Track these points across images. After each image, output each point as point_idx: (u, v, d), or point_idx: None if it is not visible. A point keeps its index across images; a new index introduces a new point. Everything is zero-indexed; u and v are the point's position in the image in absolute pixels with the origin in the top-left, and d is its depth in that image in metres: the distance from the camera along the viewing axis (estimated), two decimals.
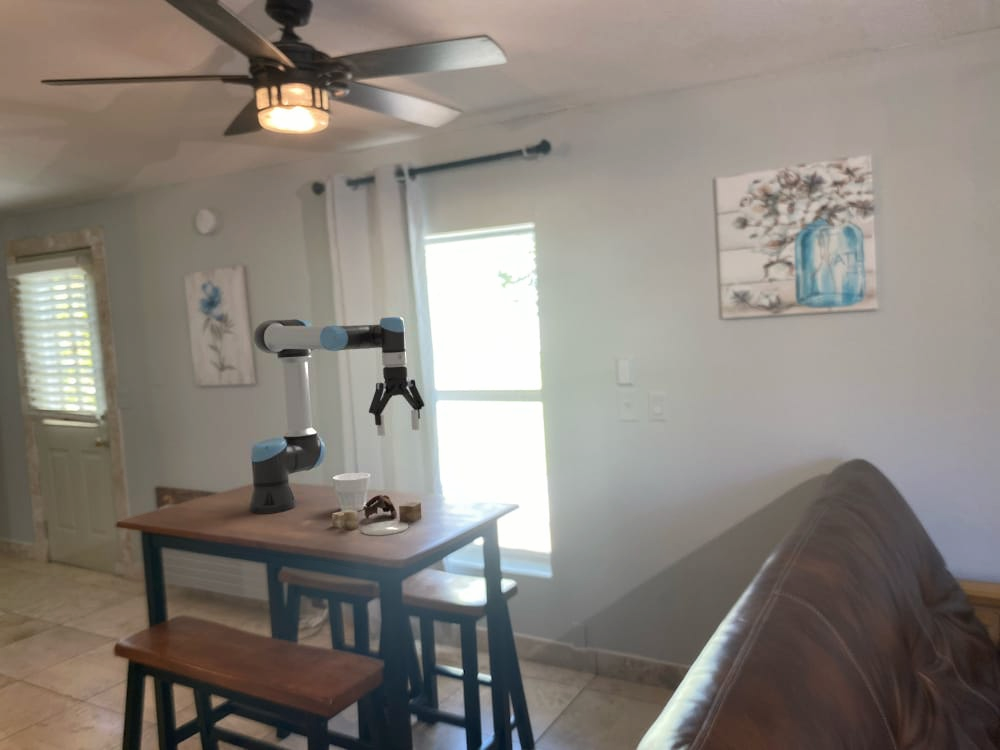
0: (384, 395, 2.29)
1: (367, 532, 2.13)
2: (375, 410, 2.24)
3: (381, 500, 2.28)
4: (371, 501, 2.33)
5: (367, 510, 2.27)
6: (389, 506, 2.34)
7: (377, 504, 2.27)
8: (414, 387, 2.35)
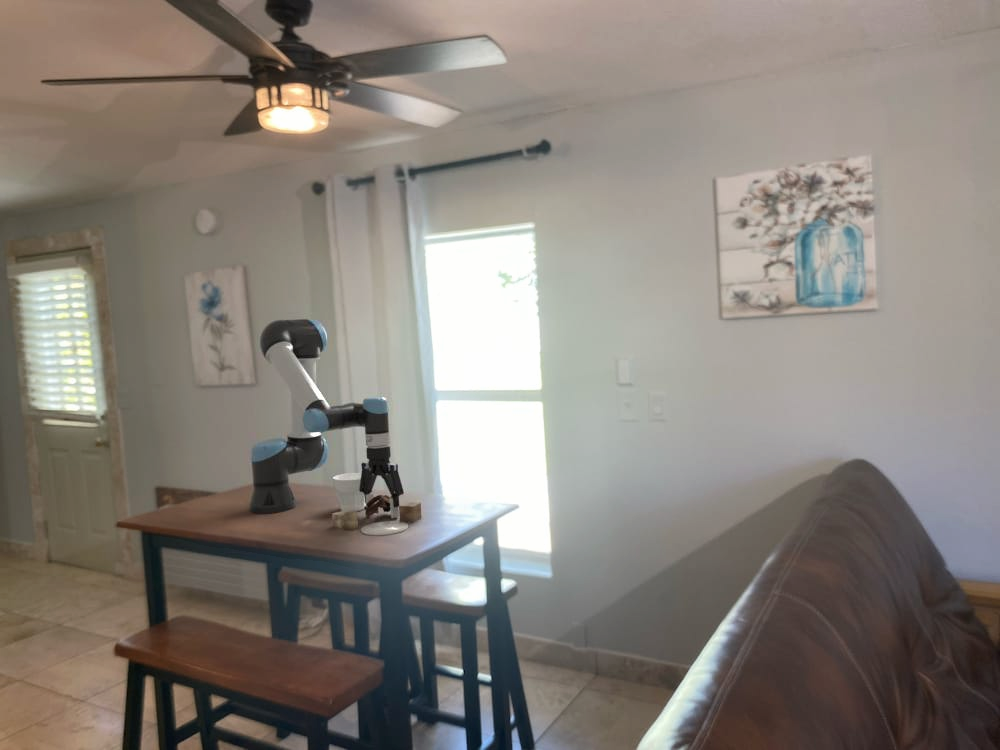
0: None
1: (367, 532, 2.13)
2: (360, 489, 2.35)
3: (382, 500, 2.28)
4: (372, 501, 2.33)
5: (368, 510, 2.27)
6: None
7: (378, 504, 2.27)
8: (391, 473, 2.27)
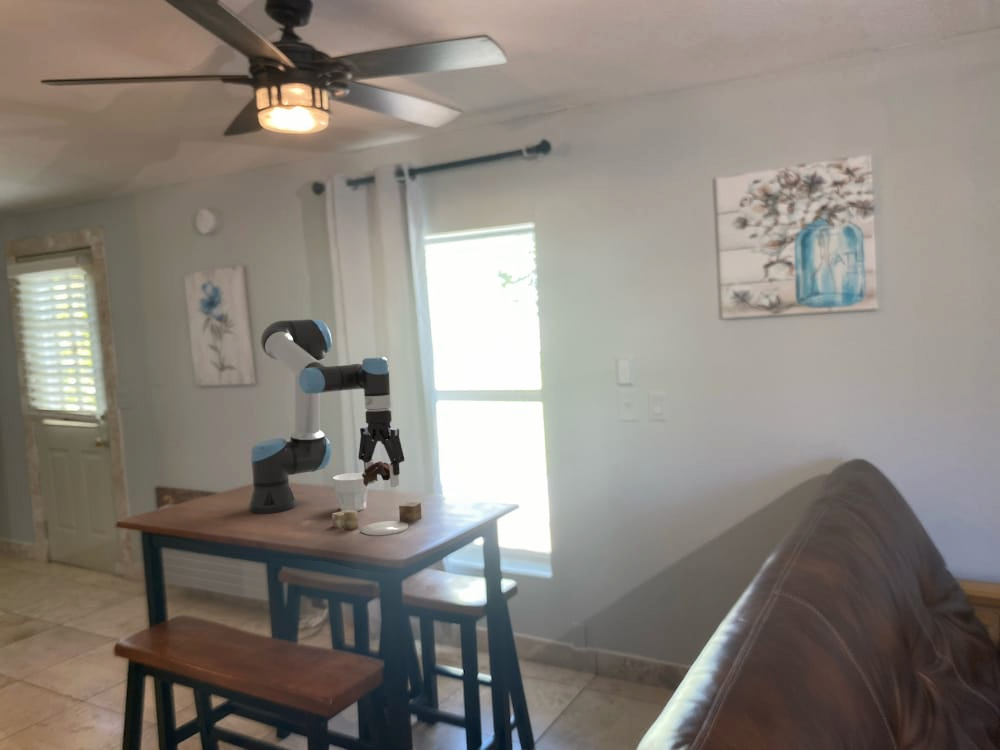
0: None
1: (367, 532, 2.13)
2: (360, 456, 2.20)
3: (381, 466, 2.13)
4: (370, 468, 2.18)
5: (366, 477, 2.12)
6: (389, 474, 2.19)
7: (377, 470, 2.12)
8: (391, 438, 2.12)
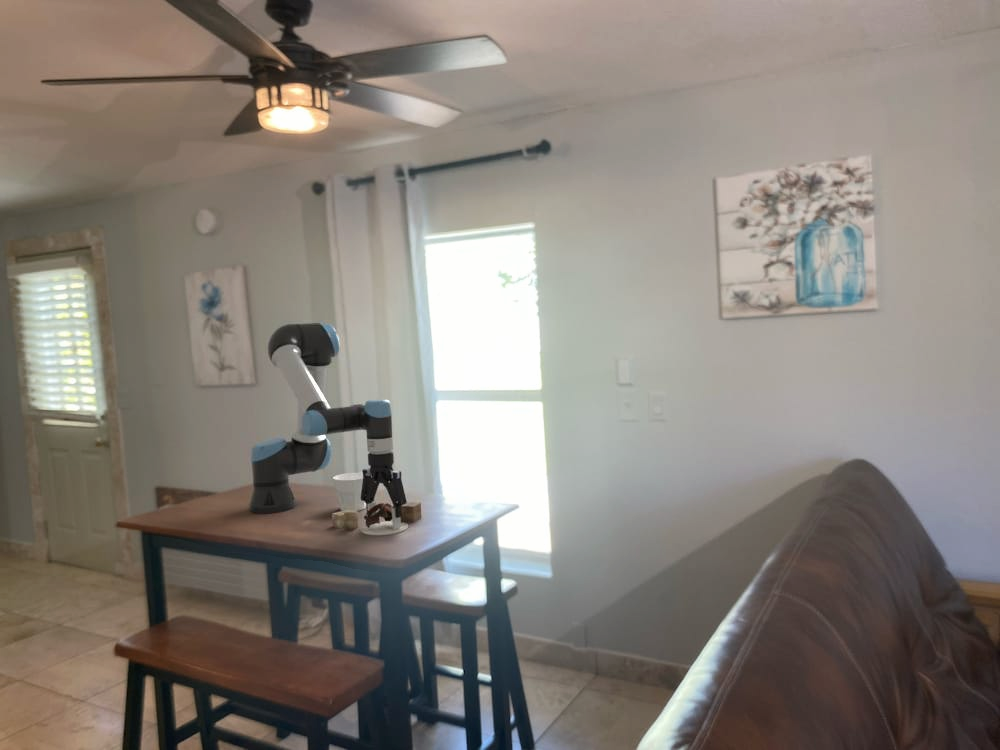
0: None
1: (367, 532, 2.13)
2: (362, 497, 2.21)
3: (383, 509, 2.14)
4: (372, 510, 2.19)
5: (368, 519, 2.13)
6: (391, 515, 2.20)
7: (379, 513, 2.13)
8: (394, 481, 2.13)
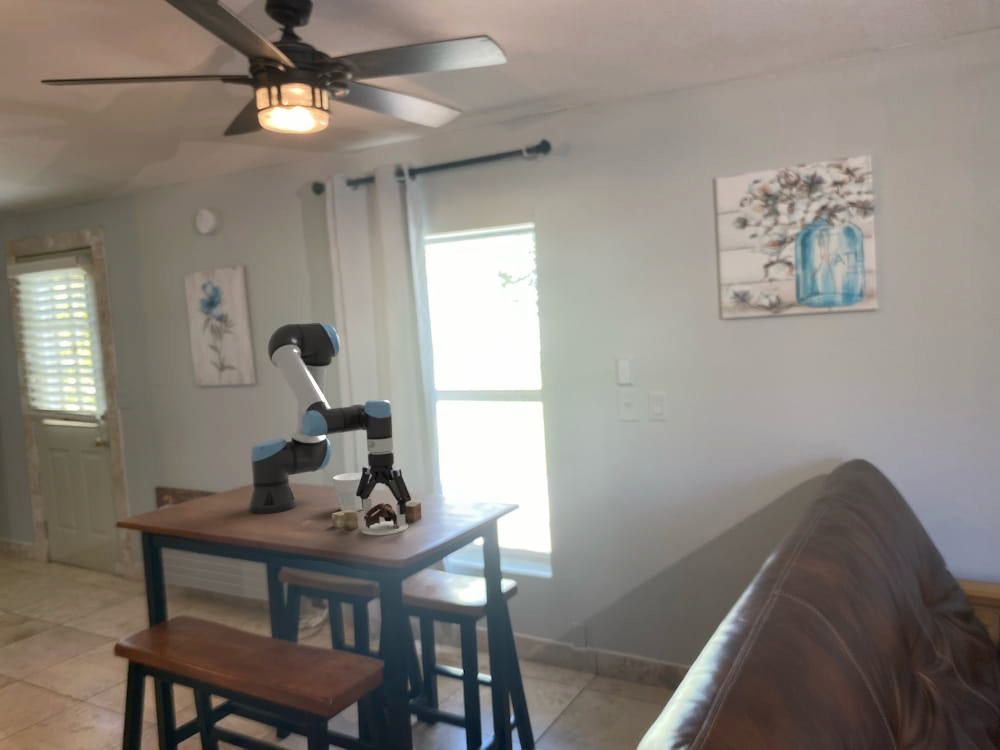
0: None
1: (367, 532, 2.13)
2: (357, 493, 2.22)
3: (383, 509, 2.14)
4: (372, 510, 2.19)
5: (368, 520, 2.13)
6: (391, 515, 2.20)
7: (379, 513, 2.13)
8: (395, 479, 2.12)
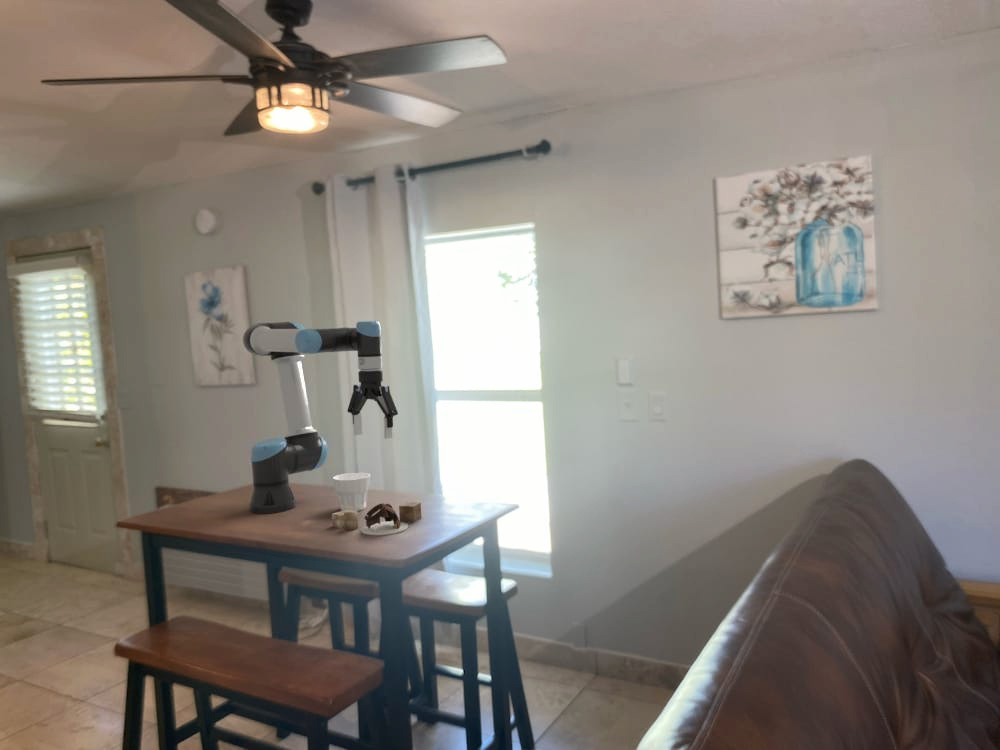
0: None
1: (367, 532, 2.13)
2: (349, 409, 2.36)
3: (384, 509, 2.14)
4: (373, 510, 2.19)
5: (369, 520, 2.13)
6: (392, 515, 2.20)
7: (379, 513, 2.13)
8: (383, 394, 2.26)
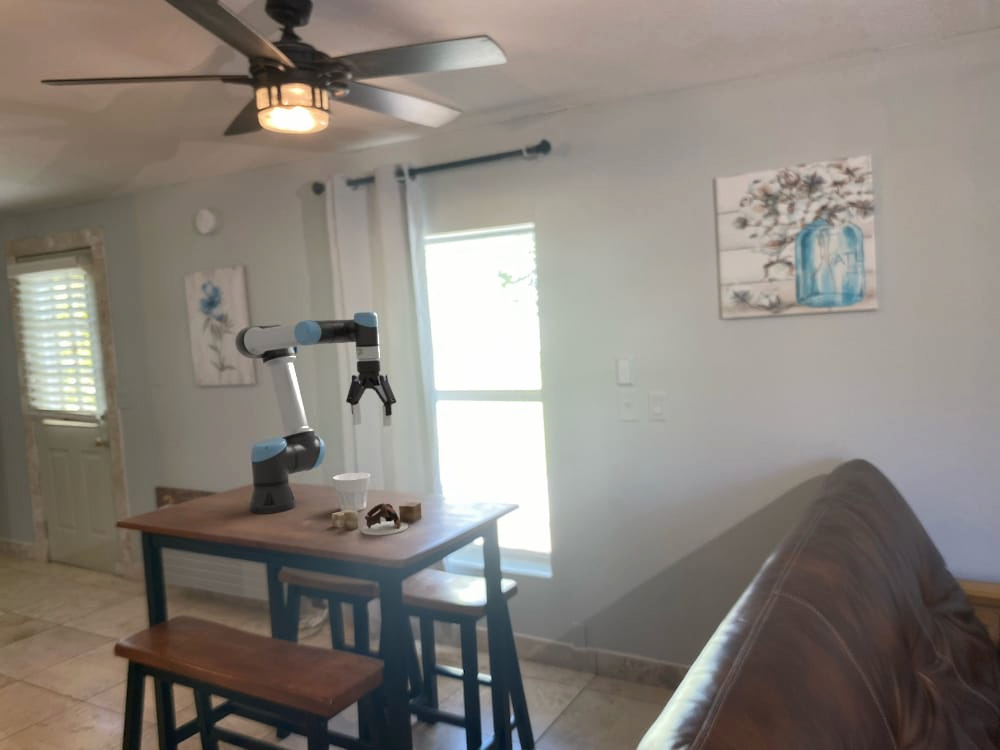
0: None
1: (367, 532, 2.13)
2: (347, 400, 2.41)
3: (384, 509, 2.14)
4: (373, 510, 2.18)
5: (369, 520, 2.13)
6: (392, 515, 2.20)
7: (380, 513, 2.13)
8: (381, 383, 2.32)
